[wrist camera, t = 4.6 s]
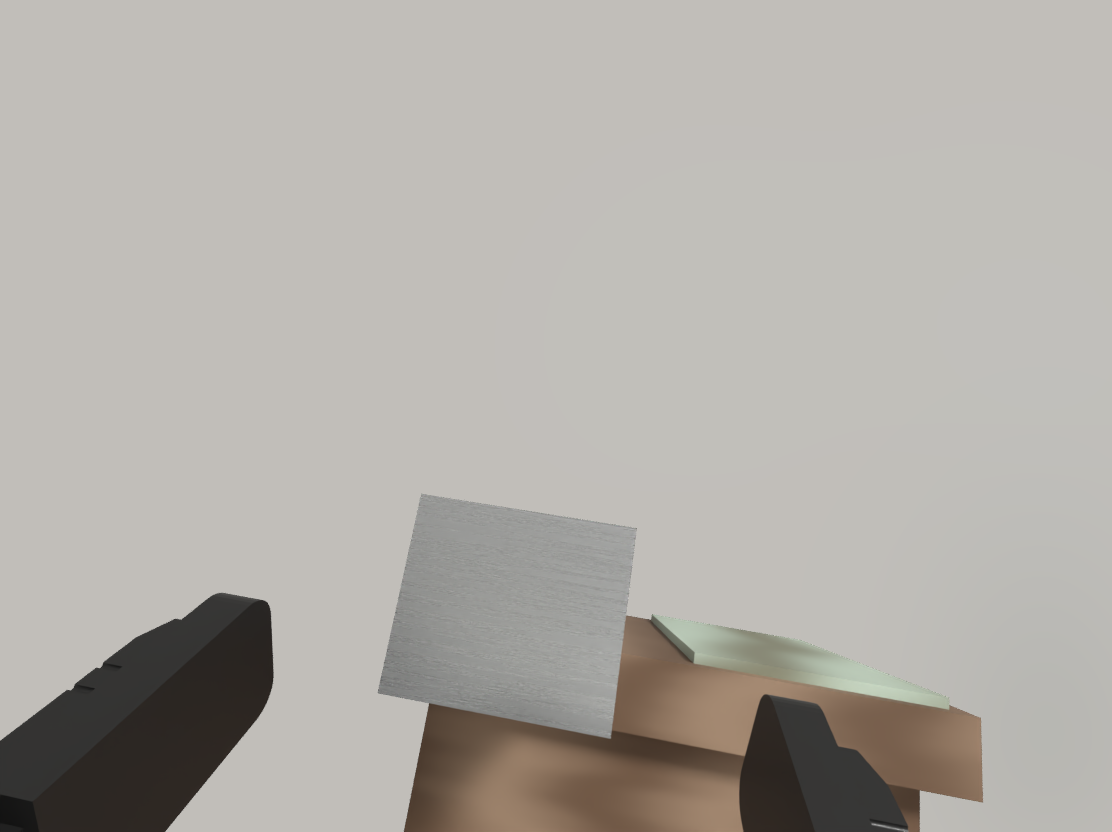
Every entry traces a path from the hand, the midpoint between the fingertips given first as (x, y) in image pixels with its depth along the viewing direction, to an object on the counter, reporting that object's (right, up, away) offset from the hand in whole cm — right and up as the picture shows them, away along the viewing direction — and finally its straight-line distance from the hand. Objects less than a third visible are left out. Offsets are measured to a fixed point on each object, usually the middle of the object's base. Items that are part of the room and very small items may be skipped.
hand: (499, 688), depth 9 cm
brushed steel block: (+1, -3, +9) cm, 9 cm away
